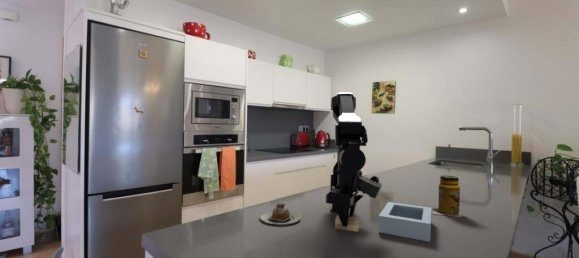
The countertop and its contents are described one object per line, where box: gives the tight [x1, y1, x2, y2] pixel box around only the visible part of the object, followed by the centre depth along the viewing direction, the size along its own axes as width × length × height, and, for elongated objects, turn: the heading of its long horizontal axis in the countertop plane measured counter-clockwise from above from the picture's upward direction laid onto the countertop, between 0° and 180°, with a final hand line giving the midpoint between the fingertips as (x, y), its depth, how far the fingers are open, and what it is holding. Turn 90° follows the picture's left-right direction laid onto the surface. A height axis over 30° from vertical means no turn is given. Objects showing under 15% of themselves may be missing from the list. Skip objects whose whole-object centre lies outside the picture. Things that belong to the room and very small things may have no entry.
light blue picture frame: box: [378, 201, 432, 243], centre depth 76 cm, size 12×16×4 cm
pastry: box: [259, 203, 302, 226], centre depth 81 cm, size 12×12×5 cm
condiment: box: [429, 175, 464, 218], centre depth 91 cm, size 7×8×12 cm
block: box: [334, 214, 360, 233], centre depth 75 cm, size 6×4×2 cm, turn 71°
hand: (347, 223), depth 75 cm, fingers closed on block, 4 cm apart
